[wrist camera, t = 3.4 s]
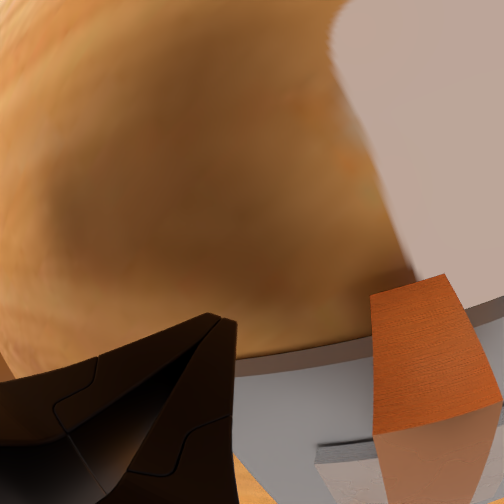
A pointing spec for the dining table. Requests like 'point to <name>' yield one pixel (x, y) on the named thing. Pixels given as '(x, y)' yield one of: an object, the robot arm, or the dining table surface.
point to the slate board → (322, 407)
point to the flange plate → (423, 408)
